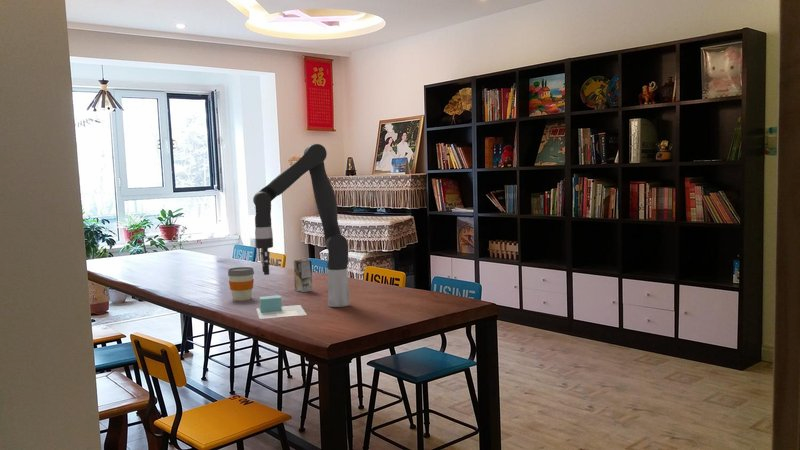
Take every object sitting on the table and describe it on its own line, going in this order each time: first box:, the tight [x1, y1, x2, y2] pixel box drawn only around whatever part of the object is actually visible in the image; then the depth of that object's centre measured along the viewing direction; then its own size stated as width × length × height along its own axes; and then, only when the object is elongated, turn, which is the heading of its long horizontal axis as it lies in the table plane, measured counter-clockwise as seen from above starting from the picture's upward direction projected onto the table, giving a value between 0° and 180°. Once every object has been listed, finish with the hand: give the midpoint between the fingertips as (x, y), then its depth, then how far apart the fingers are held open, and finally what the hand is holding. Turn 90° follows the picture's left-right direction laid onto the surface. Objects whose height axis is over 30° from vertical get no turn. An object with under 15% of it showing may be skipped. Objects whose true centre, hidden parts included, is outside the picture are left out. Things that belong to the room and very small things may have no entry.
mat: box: [255, 304, 308, 320], centre depth 270 cm, size 20×22×1 cm
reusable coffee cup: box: [227, 266, 255, 301], centre depth 304 cm, size 12×13×15 cm
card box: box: [259, 294, 282, 313], centre depth 272 cm, size 9×6×6 cm, turn 107°
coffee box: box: [293, 258, 313, 293], centre depth 323 cm, size 9×6×16 cm
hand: (265, 273), depth 271 cm, fingers open, 8 cm apart
